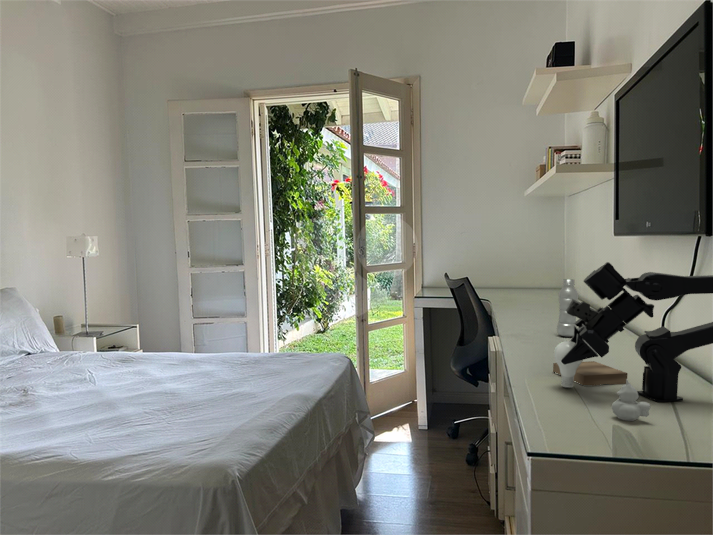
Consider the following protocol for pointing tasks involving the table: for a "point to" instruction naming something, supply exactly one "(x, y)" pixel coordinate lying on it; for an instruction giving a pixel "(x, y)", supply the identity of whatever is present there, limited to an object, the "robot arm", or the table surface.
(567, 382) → the lightbulb
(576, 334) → the robot arm
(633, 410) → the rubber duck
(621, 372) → the walnut plinth
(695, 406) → the table surface
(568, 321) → the plastic bottle
